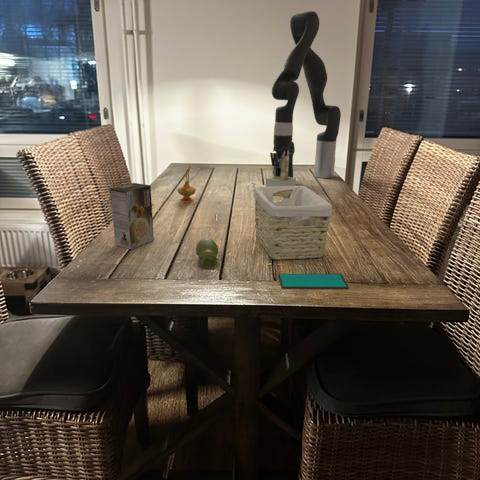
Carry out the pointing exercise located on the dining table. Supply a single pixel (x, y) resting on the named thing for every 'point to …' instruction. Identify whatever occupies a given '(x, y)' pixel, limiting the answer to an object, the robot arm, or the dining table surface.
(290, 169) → the coffee jar
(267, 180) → the stand
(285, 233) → the storage basket
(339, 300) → the dining table surface
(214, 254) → the green rounded piece
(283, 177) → the beige long rectangular block
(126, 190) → the coffee box
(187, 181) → the magic lamp
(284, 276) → the smartphone
